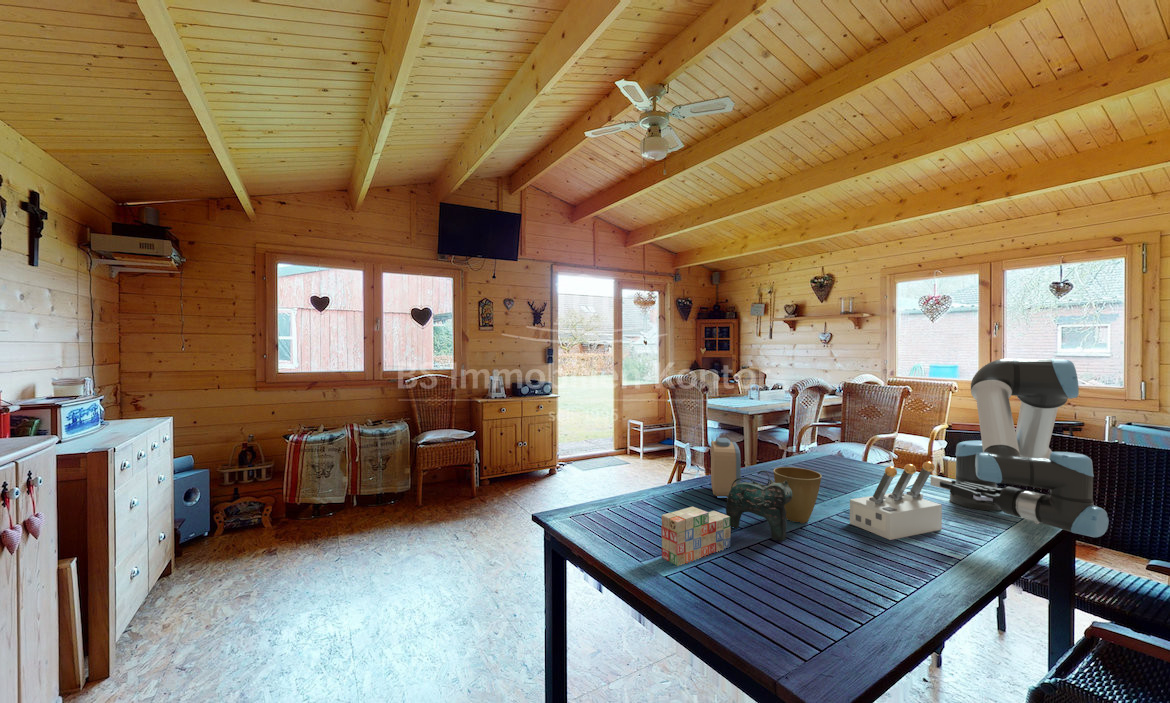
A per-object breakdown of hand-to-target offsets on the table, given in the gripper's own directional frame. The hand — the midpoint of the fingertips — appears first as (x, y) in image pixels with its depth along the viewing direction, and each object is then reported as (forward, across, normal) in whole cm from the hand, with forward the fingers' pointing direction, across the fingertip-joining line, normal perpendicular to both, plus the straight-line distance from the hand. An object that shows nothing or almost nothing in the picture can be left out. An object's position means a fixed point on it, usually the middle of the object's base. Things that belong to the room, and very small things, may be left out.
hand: (932, 480), depth 148 cm
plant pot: (+23, -33, -16) cm, 43 cm away
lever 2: (+7, +1, -7) cm, 10 cm away
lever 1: (+7, -16, -7) cm, 19 cm away
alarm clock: (+54, -39, -16) cm, 68 cm away
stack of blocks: (+13, -79, -16) cm, 82 cm away
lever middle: (+7, -8, -7) cm, 13 cm away
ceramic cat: (+18, -54, -16) cm, 59 cm away
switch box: (+6, -8, -16) cm, 19 cm away
